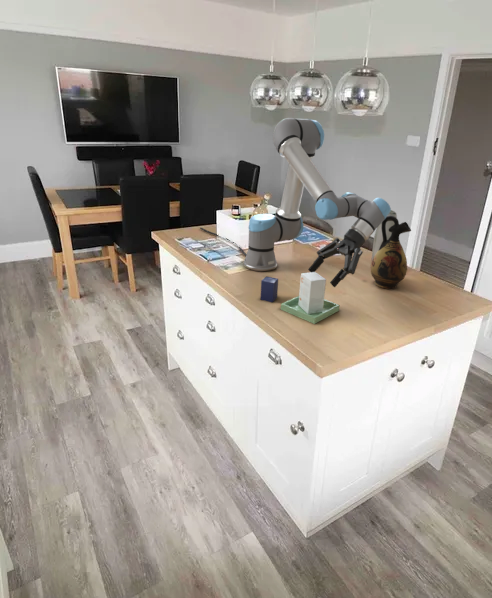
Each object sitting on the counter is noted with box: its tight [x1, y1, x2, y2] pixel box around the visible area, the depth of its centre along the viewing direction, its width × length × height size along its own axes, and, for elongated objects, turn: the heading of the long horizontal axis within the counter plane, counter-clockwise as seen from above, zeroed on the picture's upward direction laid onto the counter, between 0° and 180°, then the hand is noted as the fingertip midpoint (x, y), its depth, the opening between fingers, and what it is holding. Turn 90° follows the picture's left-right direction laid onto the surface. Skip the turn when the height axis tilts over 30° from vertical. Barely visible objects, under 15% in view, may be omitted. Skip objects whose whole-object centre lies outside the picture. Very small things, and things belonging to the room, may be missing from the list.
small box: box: [298, 271, 327, 314], centre depth 152 cm, size 8×6×13 cm
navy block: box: [260, 276, 279, 303], centre depth 160 cm, size 5×5×8 cm
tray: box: [280, 295, 340, 325], centre depth 154 cm, size 16×16×2 cm
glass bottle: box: [371, 209, 398, 261], centre depth 198 cm, size 10×10×28 cm
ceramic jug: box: [369, 216, 412, 290], centre depth 177 cm, size 17×15×30 cm
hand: (320, 278), depth 152 cm, fingers open, 13 cm apart
